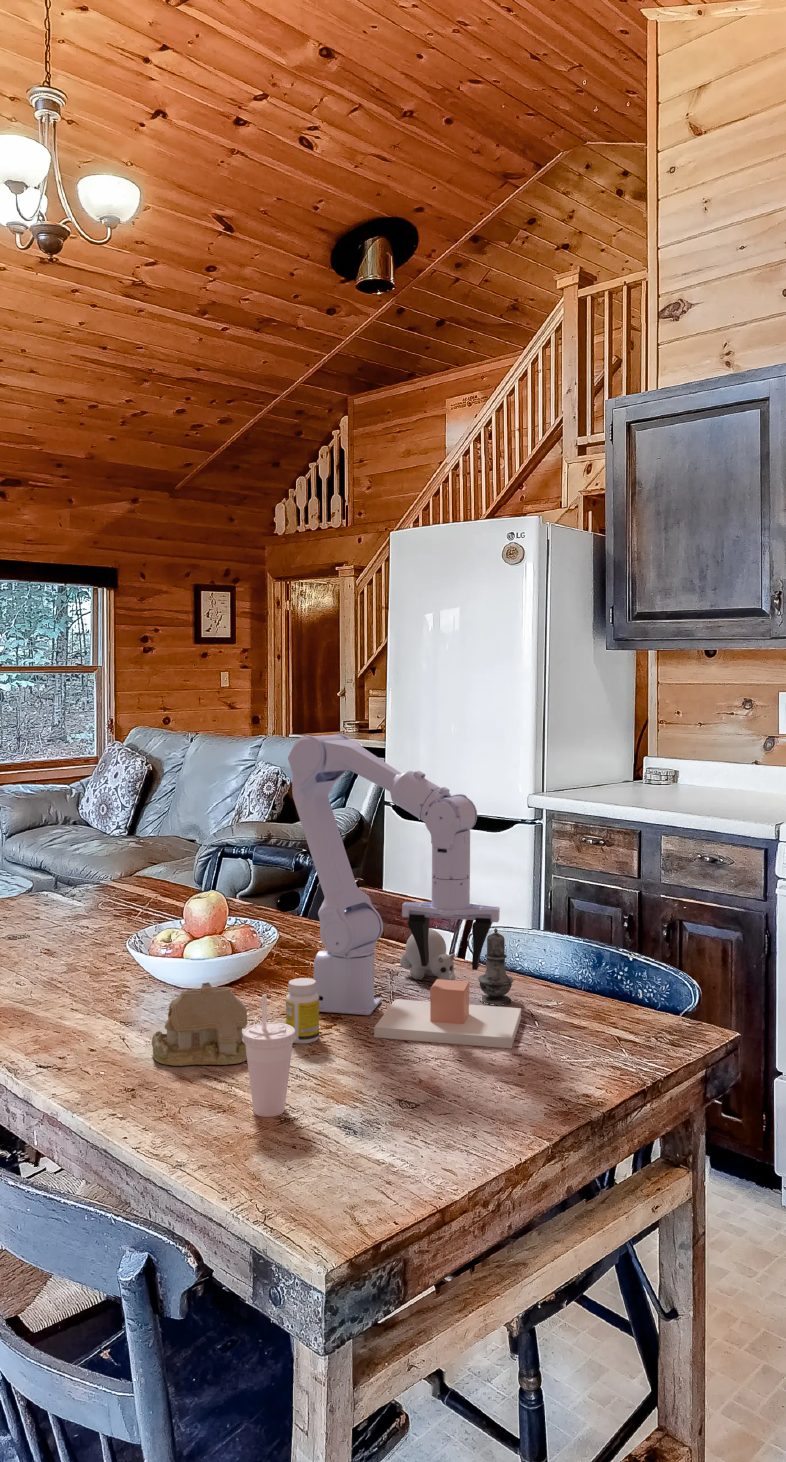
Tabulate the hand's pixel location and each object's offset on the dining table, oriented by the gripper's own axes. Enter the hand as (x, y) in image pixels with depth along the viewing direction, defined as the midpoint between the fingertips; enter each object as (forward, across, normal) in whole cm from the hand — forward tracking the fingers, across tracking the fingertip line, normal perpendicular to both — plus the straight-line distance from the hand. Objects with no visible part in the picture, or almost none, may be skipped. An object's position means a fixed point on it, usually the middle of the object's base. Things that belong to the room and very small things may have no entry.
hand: (450, 966), depth 150 cm
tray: (+9, 0, 0) cm, 9 cm away
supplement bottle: (+10, -20, -10) cm, 24 cm away
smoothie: (+9, -16, -35) cm, 40 cm away
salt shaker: (+9, +5, +15) cm, 18 cm away
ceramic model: (+10, -31, -19) cm, 38 cm away
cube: (+8, 0, 0) cm, 8 cm away
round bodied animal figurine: (+10, -8, +25) cm, 27 cm away
